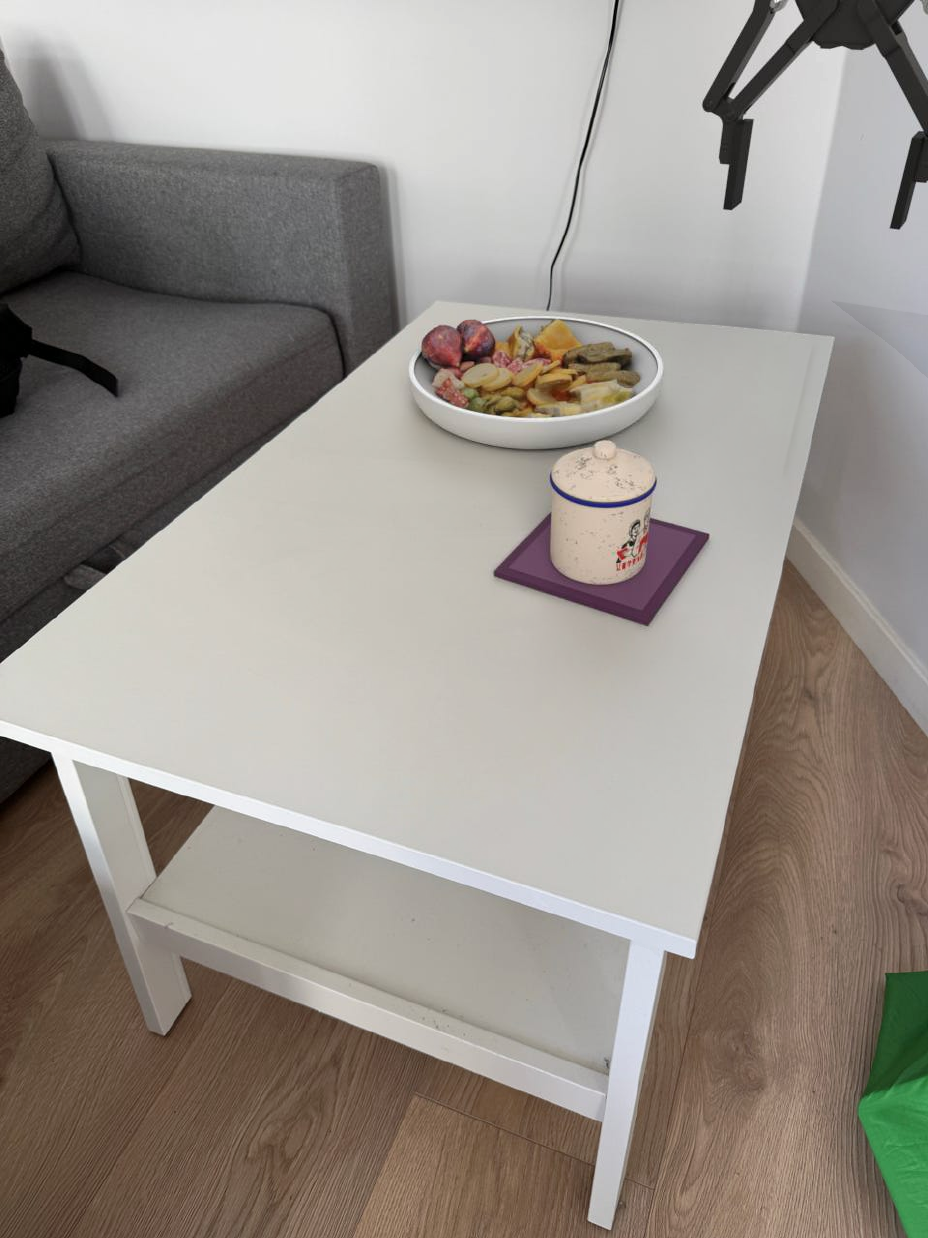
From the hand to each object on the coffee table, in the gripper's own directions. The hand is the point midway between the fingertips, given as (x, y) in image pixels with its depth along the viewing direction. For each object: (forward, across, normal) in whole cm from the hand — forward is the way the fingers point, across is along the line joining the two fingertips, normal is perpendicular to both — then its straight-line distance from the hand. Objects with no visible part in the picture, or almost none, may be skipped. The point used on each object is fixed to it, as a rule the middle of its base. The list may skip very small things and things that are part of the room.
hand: (811, 215), depth 76 cm
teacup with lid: (+26, +9, +18) cm, 33 cm away
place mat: (+27, +9, +18) cm, 33 cm away
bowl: (+27, +30, -8) cm, 41 cm away
